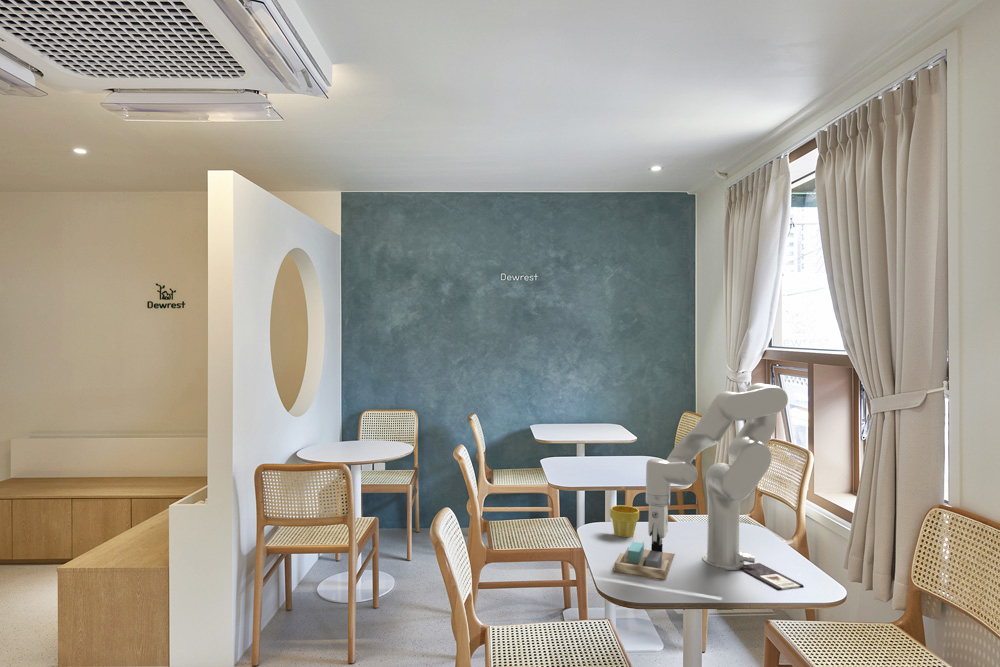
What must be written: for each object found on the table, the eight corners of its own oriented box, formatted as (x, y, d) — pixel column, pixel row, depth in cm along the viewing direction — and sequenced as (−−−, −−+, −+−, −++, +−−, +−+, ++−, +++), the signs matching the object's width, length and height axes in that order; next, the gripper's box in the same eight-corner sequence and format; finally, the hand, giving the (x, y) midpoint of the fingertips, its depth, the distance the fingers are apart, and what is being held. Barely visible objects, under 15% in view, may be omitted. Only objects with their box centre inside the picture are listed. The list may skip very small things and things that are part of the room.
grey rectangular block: (662, 563, 187) (662, 552, 187) (657, 573, 179) (657, 561, 179) (650, 561, 189) (650, 550, 189) (645, 571, 180) (645, 559, 180)
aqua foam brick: (643, 554, 195) (643, 543, 195) (639, 563, 187) (639, 552, 187) (632, 552, 197) (632, 541, 197) (627, 561, 188) (627, 550, 188)
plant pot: (643, 535, 217) (643, 508, 217) (631, 542, 209) (631, 514, 209) (617, 529, 223) (617, 503, 223) (604, 536, 215) (605, 509, 215)
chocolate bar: (759, 563, 190) (803, 585, 172) (759, 566, 190) (803, 588, 172) (735, 565, 187) (777, 588, 170) (735, 568, 187) (777, 591, 170)
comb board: (674, 556, 196) (675, 546, 196) (665, 583, 174) (665, 572, 174) (628, 549, 202) (628, 540, 202) (613, 574, 179) (613, 563, 179)
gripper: (666, 505, 182) (665, 566, 181) (673, 494, 195) (672, 551, 195) (641, 502, 185) (640, 562, 184) (649, 492, 198) (648, 547, 198)
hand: (656, 556), depth 190 cm, fingers closed
